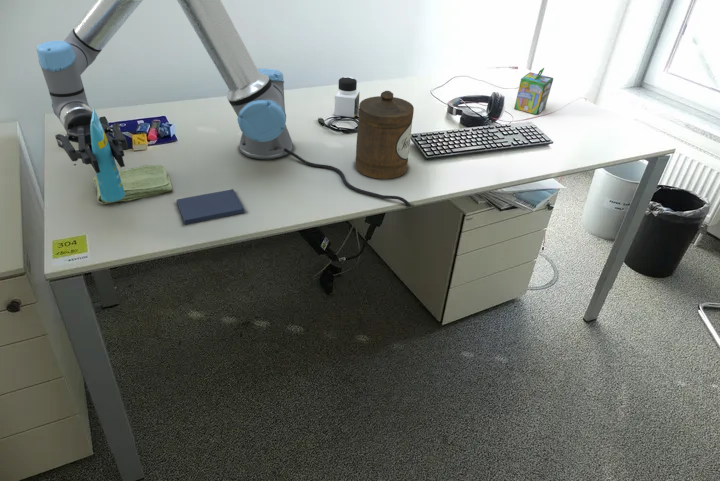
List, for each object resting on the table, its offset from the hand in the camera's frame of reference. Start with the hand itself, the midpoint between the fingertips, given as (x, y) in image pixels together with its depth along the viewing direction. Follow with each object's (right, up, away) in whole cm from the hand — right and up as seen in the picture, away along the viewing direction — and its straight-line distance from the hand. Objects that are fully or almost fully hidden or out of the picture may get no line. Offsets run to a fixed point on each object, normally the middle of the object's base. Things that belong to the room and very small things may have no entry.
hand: (109, 163), depth 106 cm
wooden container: (+57, +5, +43) cm, 71 cm away
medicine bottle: (+46, +28, +74) cm, 92 cm away
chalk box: (+113, +33, +85) cm, 146 cm away
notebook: (+15, -8, +21) cm, 27 cm away
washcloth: (-7, -2, +27) cm, 28 cm away
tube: (-4, -6, +10) cm, 12 cm away
